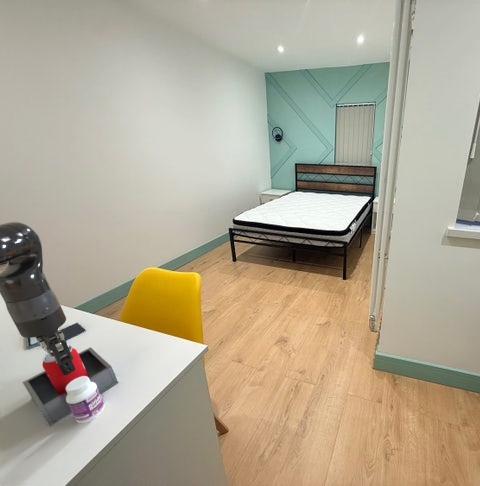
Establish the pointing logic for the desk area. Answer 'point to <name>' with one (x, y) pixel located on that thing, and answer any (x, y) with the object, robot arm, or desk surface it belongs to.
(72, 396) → the pill bottle
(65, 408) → the basin
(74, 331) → the mat
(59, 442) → the desk surface
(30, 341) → the smartphone
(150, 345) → the desk surface
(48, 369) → the beverage can
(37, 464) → the desk surface
